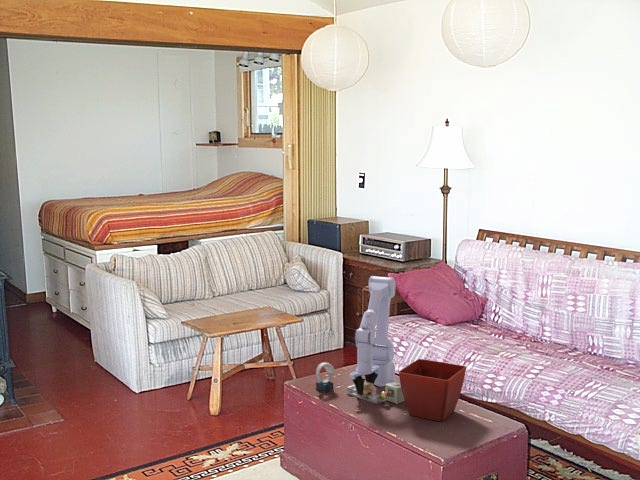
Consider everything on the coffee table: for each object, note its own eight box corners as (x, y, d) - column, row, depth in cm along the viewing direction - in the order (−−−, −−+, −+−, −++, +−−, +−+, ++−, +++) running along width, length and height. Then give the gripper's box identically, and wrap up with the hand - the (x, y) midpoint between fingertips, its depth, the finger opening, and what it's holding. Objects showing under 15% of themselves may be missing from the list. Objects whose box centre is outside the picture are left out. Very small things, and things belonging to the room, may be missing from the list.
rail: (354, 391, 291) (354, 384, 290) (383, 401, 279) (383, 394, 279) (347, 393, 288) (347, 386, 287) (376, 404, 277) (376, 397, 276)
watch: (337, 389, 293) (337, 362, 292) (321, 393, 288) (321, 366, 286) (327, 385, 297) (327, 359, 296) (312, 390, 292) (312, 363, 291)
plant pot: (418, 400, 281) (418, 357, 278) (466, 409, 271) (467, 365, 269) (396, 416, 265) (397, 371, 262) (447, 427, 255) (448, 380, 252)
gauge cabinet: (395, 395, 286) (395, 380, 285) (407, 399, 281) (407, 383, 280) (385, 399, 282) (385, 383, 281) (396, 403, 277) (397, 387, 276)
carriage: (363, 391, 287) (363, 380, 286) (373, 394, 283) (373, 383, 283) (355, 394, 284) (355, 382, 283) (365, 397, 280) (365, 386, 280)
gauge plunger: (391, 394, 281) (391, 387, 281) (397, 396, 279) (397, 389, 279) (379, 399, 277) (379, 391, 276) (385, 401, 275) (385, 393, 274)
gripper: (370, 352, 289) (369, 385, 291) (344, 360, 280) (343, 394, 282) (383, 356, 284) (383, 390, 286) (357, 364, 274) (357, 399, 276)
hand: (364, 393), depth 284 cm, fingers closed on carriage, 4 cm apart
